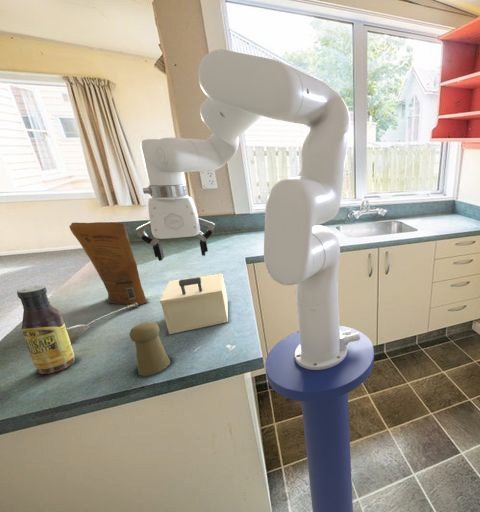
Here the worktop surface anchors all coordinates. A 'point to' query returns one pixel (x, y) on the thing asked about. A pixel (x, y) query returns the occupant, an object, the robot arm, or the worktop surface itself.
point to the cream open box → (196, 312)
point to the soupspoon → (80, 329)
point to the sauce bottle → (44, 331)
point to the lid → (192, 287)
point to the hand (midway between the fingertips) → (183, 256)
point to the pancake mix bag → (111, 259)
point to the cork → (149, 349)
